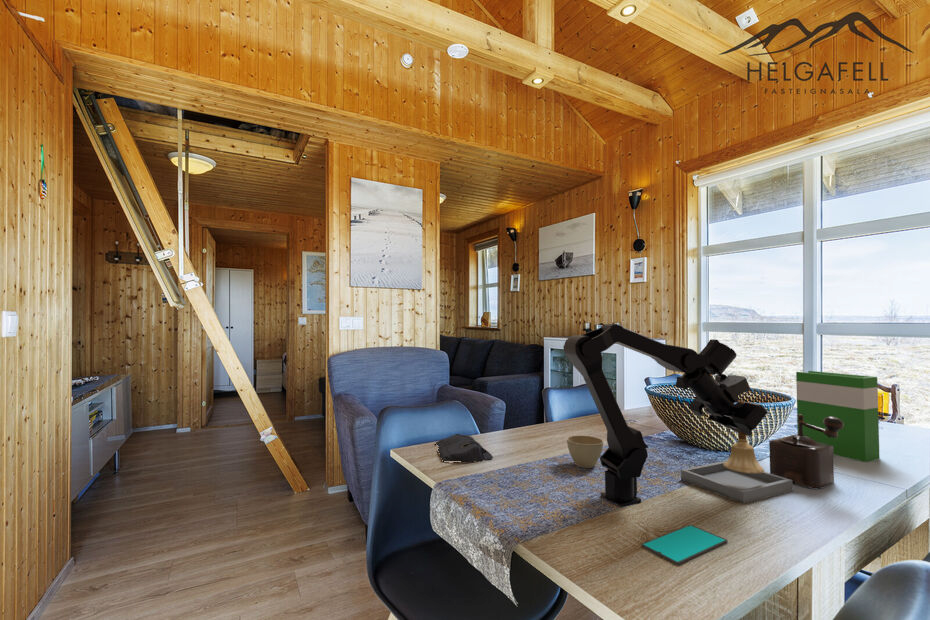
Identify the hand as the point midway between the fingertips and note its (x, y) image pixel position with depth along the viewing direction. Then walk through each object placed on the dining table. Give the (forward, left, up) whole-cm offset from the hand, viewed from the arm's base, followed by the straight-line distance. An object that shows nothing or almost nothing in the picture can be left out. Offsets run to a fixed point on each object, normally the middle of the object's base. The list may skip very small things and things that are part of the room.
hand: (746, 433), depth 104 cm
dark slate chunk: (-51, +56, -14) cm, 77 cm away
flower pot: (-24, +30, -13) cm, 41 cm away
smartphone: (-36, -12, -14) cm, 41 cm away
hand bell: (-1, 0, -8) cm, 9 cm away
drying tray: (0, +3, -13) cm, 14 cm away
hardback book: (+55, +8, -13) cm, 57 cm away
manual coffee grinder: (+19, -4, -13) cm, 23 cm away
